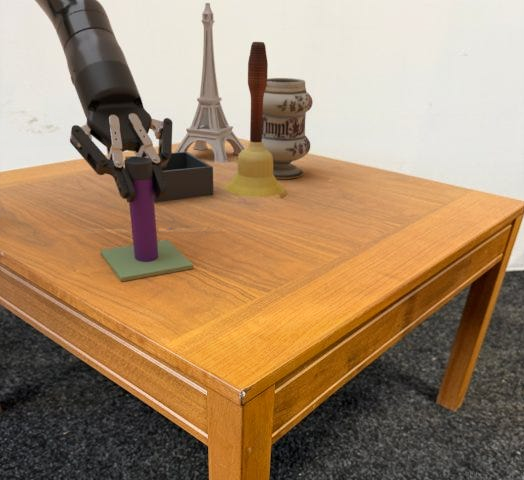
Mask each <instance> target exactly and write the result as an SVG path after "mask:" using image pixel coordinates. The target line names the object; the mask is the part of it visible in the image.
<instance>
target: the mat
mask: <svg viewBox="0 0 524 480" xmlns="http://www.w3.org/2000/svg"><path fill="white" fill-rule="evenodd" d="M157 245H158V258H157V259H156V260H154V261H149V262H142V261H138V260H136V259H135V255H134V245H133V244H130V245H123V246H118V247H112V248H105V249H100V250H99V251H100V252H99V253H100V255H101V256H102V257H103V259H104V260H105V262H106V264H107V265H108V266H109V267H110V269H111V270H112V271H113V273H114V274H115V275H116V277H117V278H118V280H119V281H120V282H121V283H122V282H127V281H133V280H138V279H144V278H149V277H150V278H151V277H155V276H160V275H167V274H171V273H176V272H182V271H187V270H193V269H194V264H193V263H192V261H190V260H189V259H188V257H186V256H185V255H184V254H183V253H182V252H181V251H180V250H179V249H178V248H177V247H176V246H175V245H174V244H173V243H172V242H171V241H170V240H169V239H162V240H157Z"/></svg>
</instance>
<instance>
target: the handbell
mask: <svg viewBox="0 0 524 480" xmlns="http://www.w3.org/2000/svg"><path fill="white" fill-rule="evenodd" d="M266 49H267V48H266V44H265V42H264V41H252V43H251V45H250V50H249V57H248V61H247V86H248V90H249V93H250V94H249V95H250V122H249V124H250V126H249V130H250V131H249V143H248V145H247V147H245V149H244V150H242V151H241V152H240V153H239V155H237V172H236V174H235V175H234V177H233V178H232V179H231V180H230V181H229V182H228V183H226V185H224V190H226V191H227V192H229V193H231V194H234V195H237V196H242V197H252V198H255V197H256V198H263V197H272V196H277V195H279V197H280V199H282V198H284V197H286V195H287V194H288V193H287V190H286V187H285V186H284V185H282V184H281V182H279V181H278V179H276V178H275V177H274V175H273V157H272V154H271V153H270V152H269V151H268V150H266V149H265V148H264V147H263V144H262V118H263V97H264V92H265V89H266V86H267V79H268V67H269V65H268V64H269V63H268V56H267V50H266Z"/></svg>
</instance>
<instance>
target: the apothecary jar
mask: <svg viewBox="0 0 524 480" xmlns="http://www.w3.org/2000/svg"><path fill="white" fill-rule="evenodd" d="M313 104H314V103H313V98H312V95H310V94H309V92H308V91H307V88H306V80H304V79H300V78H291V77H269V78H268V77H267V86H266V89H265V92H264V97H263V118H262V144H263V147H264V148H265V149H266V150H268V151H269V152H270V153H271V154H272V157H273V175H274V177H275V178H276V180H291V179H297V178H300V177H303V175H304V171H303V169H302V168H300V167H299V166H296V165H294V164H291V163H292V162H295V161H297V160H298V161H299V160H300V159H302V158H304V157H305V156H307V154H308V153H309V152H310V150H311V142H310V139H309V138H308V136H306V115H307V112H309V111H310V110H311V108H312V106H313Z"/></svg>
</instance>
